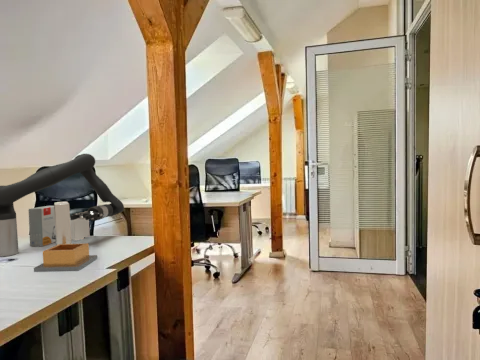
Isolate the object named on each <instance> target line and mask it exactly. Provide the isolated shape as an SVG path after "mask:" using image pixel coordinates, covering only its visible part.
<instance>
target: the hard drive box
mask: <svg viewBox="0 0 480 360" xmlns="http://www.w3.org/2000/svg"><path fill="white" fill-rule="evenodd" d="M28 227H29V228H28V229H29V247H45V246H47V245H50V244H54V243H56V233H55V216H54V205H46V206H45V205H44V206H38V207H32V208H28Z"/></svg>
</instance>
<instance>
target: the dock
mask: <svg viewBox="0 0 480 360" xmlns="http://www.w3.org/2000/svg"><path fill="white" fill-rule="evenodd" d="M97 259H98V255H97V254H93V255H92V254H90V246H89V242H88V243H87V242H85V243H81V242H80V243H71V244H58V245H56V244H55V245H54V246H52V247H50V248H47V249H45V250H43V251H42V262H43V263H41V264H39V265H37V266H35V267H33V272H34V273H35V272H37V273H38V272H66V271H67V272H69V271H70V272H71V271H72V272H74V271H75V272H76V271H80V270H82V269H84V268H85V267H87V265H90V264H91V263H93V262H94V261H96V260H97Z"/></svg>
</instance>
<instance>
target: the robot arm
mask: <svg viewBox="0 0 480 360" xmlns="http://www.w3.org/2000/svg"><path fill="white" fill-rule="evenodd" d="M95 164H96V158H95V157H94V156H93V155H92V154H90V153H81V154H77V155H76V156H75V157H74V158H73V159H72V160H69V161H67V162H63V163H59V164H56V165H52V166H48V167H45V168H43V169H41V170H38V171H36V172H35V173H33V174H31V175H30V176H29V175H28V177H26V178H25V179H23V180H19V181H17V182H14V183H11V184H7V185H0V257H8V256H14V255H18V254H19V241H18V240H19V237H18V223H17V213H16V210H15V207H14V203H15V202H17V201H19V200H20V199H22V198H24V197H26V196H28V195H30V194H33V193H35V192H39V191H41V190H44V189H48V188H49V187H52V186H53V185H57V184H59V183H60V182H62V181H65V180H66V179H68V178H69V177H72V176H74V175H76V174H78V173H80V174H81V175H82V176H83V178H84V179H85V180H86V181H87V182H88V184H90V186H91V187H92V189H93V190H94V191H95V192H96V195H97V196H98V197H99V199H100V200H101V201H102V202H103V203H106V204H102V205H95V206H91V207H89V208H88V209H87V211H84V212H82V211H81V212H76V213H72V215H70V219H71V220H75V219H86V220H89V221H92V222H95V221H99V220H103V219H105V218H107V217H112V216H115V215H118V214H120V213H122V212H123V211H125V206H124V205H125V204H124V203H123V202H122V201H121V200H120V199H119V198H118V197H117V196H115V195H114V194H113V192H112V191H111V189H110V188H109V185H108V184H106V183H105V182H104V180H102V179H101V177H99V175H97V173H96V172H95V171H94V169H93V168H94V166H95ZM107 203H108V204H107ZM82 216H83V218H82Z"/></svg>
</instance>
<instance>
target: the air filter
mask: <svg viewBox="0 0 480 360" xmlns="http://www.w3.org/2000/svg"><path fill="white" fill-rule="evenodd" d="M53 206H54V216H55V233H56V242H55V246H56V245H58V244H72V240H71V227H70V216H71V212H70V211H71V209H70V203H69V202H68V201H57V202H54V204H53Z"/></svg>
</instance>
